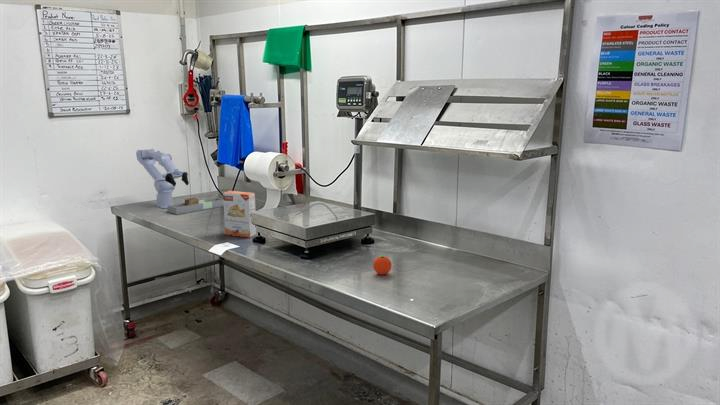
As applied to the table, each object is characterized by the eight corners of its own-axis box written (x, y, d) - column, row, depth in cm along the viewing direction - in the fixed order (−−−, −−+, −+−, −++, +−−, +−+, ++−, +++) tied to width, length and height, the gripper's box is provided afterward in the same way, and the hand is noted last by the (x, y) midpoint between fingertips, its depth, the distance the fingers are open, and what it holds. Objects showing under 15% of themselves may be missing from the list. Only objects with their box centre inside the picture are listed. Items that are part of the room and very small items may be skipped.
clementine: (372, 270, 201) (372, 252, 199) (390, 270, 201) (390, 252, 200) (373, 277, 193) (374, 259, 191) (392, 277, 193) (392, 258, 192)
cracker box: (224, 235, 248) (222, 192, 244) (231, 232, 254) (229, 190, 250) (250, 238, 244) (248, 194, 239) (256, 235, 249) (255, 192, 245)
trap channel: (166, 211, 296) (166, 205, 296) (215, 203, 320) (215, 197, 319) (177, 215, 289) (177, 208, 288) (226, 206, 312) (226, 199, 312)
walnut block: (184, 206, 301) (184, 199, 300) (194, 204, 305) (193, 197, 304) (189, 207, 298) (189, 200, 297) (199, 205, 302) (198, 198, 301)
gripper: (160, 164, 291) (171, 179, 285) (184, 163, 302) (195, 178, 296) (157, 174, 295) (167, 189, 288) (181, 172, 305) (191, 187, 299)
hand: (181, 184), depth 292 cm, fingers open, 7 cm apart
